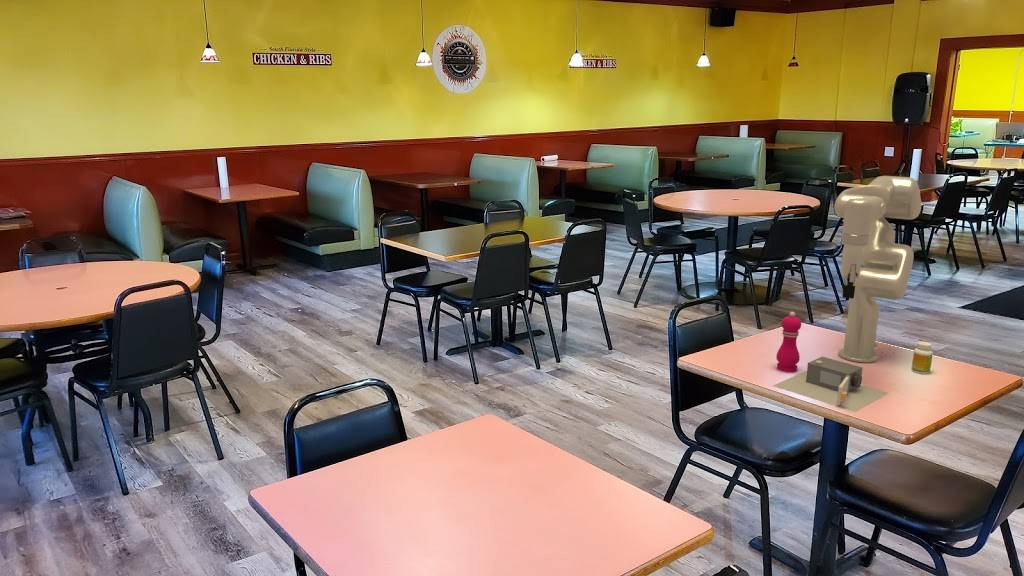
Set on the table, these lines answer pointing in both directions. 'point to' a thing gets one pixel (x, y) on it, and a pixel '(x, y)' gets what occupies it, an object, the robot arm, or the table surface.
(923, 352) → the supplement bottle
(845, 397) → the side door
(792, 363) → the pepper mill
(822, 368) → the camera body
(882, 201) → the robot arm
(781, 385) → the mat
